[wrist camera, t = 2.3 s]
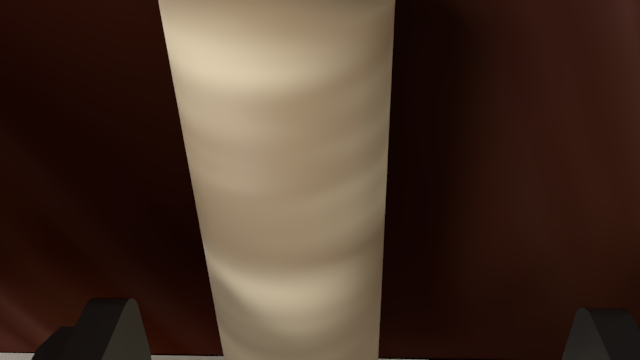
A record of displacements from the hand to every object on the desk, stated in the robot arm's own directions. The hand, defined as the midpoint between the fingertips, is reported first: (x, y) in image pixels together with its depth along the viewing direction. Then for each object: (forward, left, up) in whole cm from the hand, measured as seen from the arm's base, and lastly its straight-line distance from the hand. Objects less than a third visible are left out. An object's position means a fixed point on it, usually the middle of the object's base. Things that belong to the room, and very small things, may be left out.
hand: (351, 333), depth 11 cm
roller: (-1, -1, -3) cm, 3 cm away
